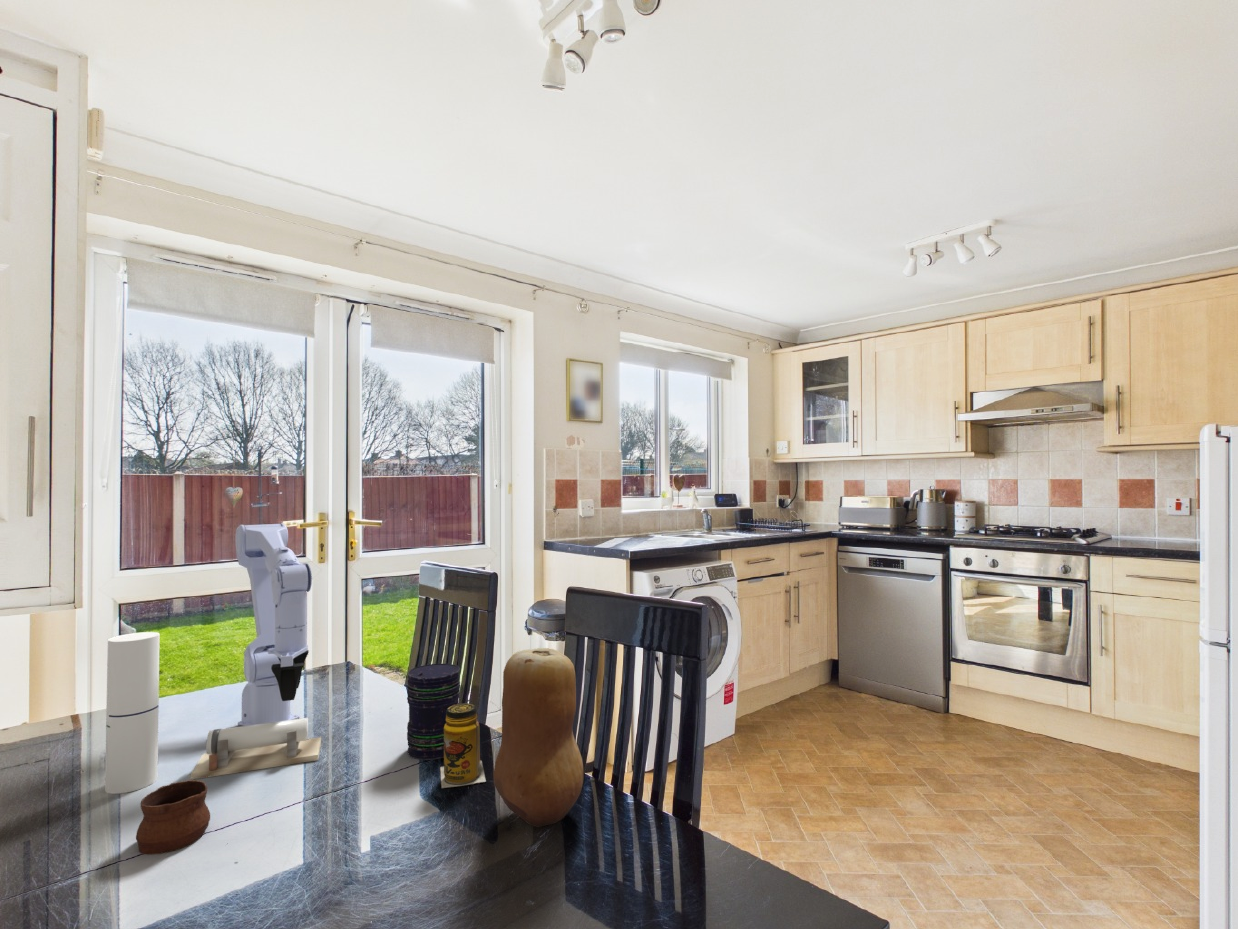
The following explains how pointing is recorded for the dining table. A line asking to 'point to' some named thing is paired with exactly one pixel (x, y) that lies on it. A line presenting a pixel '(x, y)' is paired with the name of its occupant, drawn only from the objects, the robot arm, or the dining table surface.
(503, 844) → the dining table surface
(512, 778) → the butternut squash
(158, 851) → the ceramic pot
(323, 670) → the dining table surface
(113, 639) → the cylindrical container
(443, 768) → the condiment
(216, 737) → the tube
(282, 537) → the robot arm
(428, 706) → the storage jar
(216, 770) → the tube stand
